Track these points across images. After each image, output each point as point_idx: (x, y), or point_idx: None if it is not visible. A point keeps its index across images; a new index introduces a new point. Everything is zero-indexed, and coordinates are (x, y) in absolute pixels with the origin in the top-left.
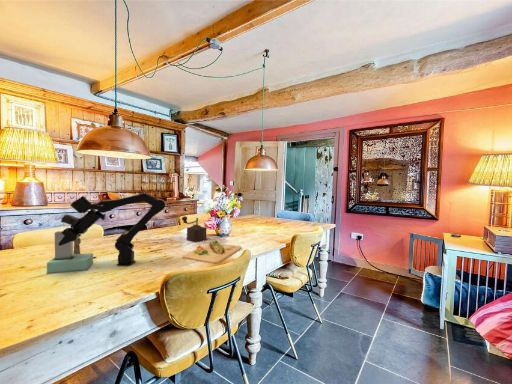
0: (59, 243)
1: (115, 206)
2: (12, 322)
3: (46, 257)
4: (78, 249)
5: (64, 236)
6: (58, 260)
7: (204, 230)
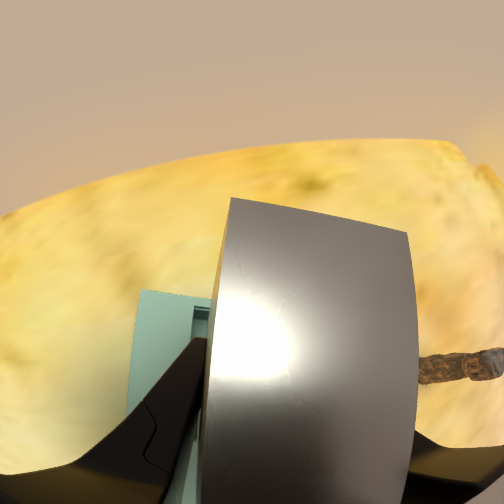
0: (184, 353)
1: None
2: None
3: (421, 243)
4: (444, 377)
5: (94, 452)
6: (171, 353)
7: None
